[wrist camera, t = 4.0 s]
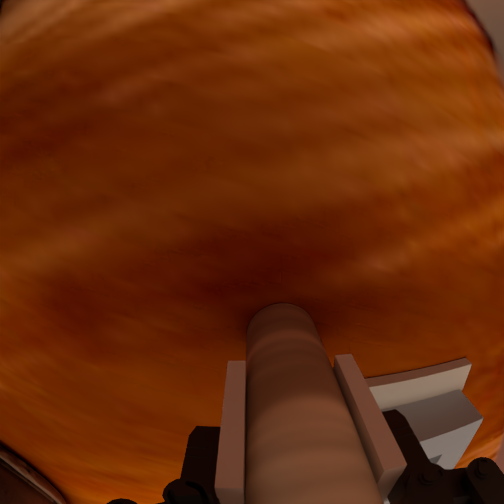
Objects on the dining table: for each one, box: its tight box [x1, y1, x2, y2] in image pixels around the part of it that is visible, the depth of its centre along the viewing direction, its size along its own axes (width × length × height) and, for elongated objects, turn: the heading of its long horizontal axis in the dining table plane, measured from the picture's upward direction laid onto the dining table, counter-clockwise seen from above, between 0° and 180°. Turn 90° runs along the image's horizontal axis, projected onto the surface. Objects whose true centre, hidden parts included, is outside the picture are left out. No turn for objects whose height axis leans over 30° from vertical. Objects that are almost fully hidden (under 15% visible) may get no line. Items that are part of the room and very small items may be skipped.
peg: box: [244, 303, 384, 504], centre depth 9 cm, size 4×4×16 cm
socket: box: [365, 358, 483, 504], centre depth 18 cm, size 16×12×5 cm
